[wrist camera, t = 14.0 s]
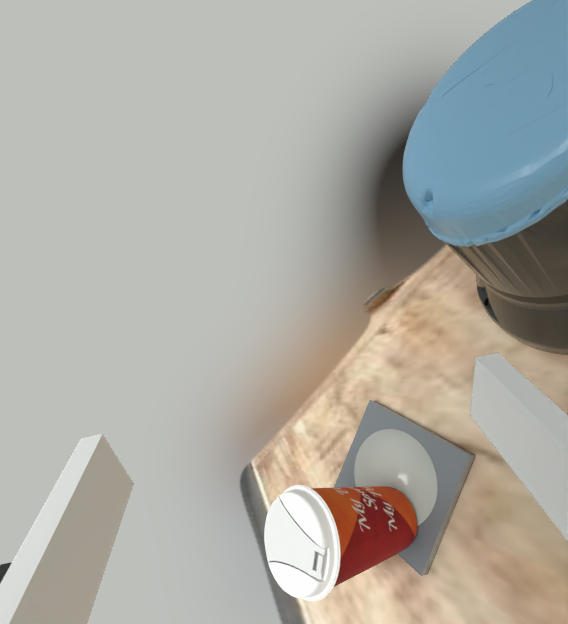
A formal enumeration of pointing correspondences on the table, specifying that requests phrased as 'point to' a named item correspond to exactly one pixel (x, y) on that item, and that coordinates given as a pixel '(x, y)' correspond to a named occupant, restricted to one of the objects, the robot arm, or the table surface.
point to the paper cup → (334, 535)
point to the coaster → (408, 474)
